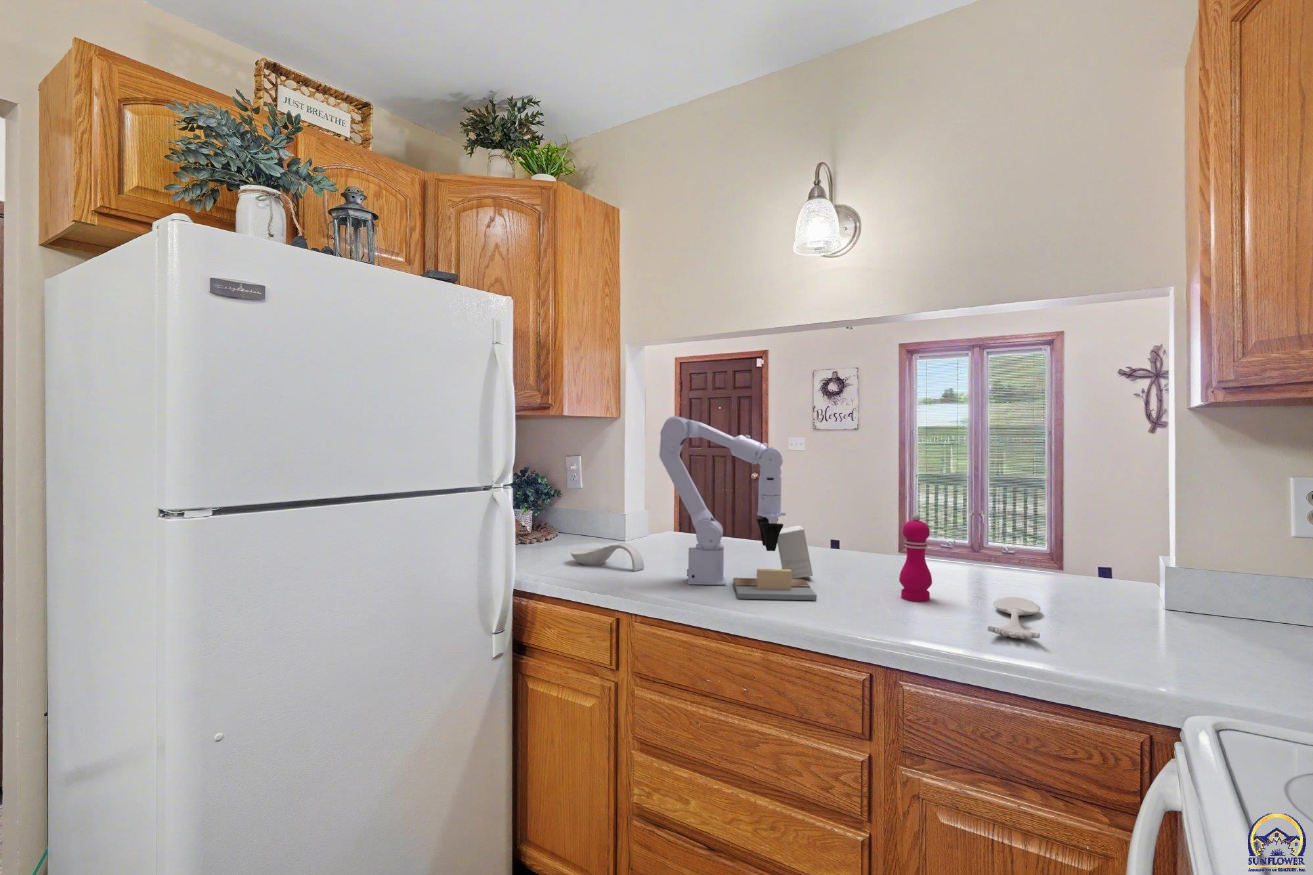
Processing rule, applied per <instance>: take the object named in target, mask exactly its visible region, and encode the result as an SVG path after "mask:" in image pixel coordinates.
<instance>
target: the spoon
mask: <svg viewBox="0 0 1313 875" xmlns="http://www.w3.org/2000/svg"><path fill="white" fill-rule="evenodd" d="M993 606H994V608H996V609H997V610H999V611H1000V612H1003V613H1005V614H1009V615H1011V616H1010V619H1009V622H1008V624H1007V625H1005V626H992V625H987V631H988V632H990V633H994V634H997V635H1000V636H1004V637H1007V638H1011V639H1020V640H1021V639H1022V640H1025V639H1027V640H1028V639H1040V637H1041V634H1040V632H1032V631H1029V630H1026V629H1024V627H1022V626H1021V624H1020V620H1019V616H1021V617H1023V616H1031V615H1035V614H1038V613H1039V612H1040V611H1041V607H1040V606H1039V605H1038V604H1037V603H1035V602H1034V601H1033V600H1029V599H1027V598H1024V597H1020V596H1019V597H1018V596H1004V597H1000V598H998V599H996V600H994V601H993Z"/></svg>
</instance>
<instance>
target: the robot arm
mask: <svg viewBox="0 0 1313 875" xmlns="http://www.w3.org/2000/svg"><path fill="white" fill-rule="evenodd" d="M659 433H660V443H659V445H660V446H659V459H660V461H661V462H662V465H663V467H664V468H665V470H666V472H667V474H668V476H669V477H670V478H669V479H670V480H671V482H672V483H673V486H674V488H675V489H676V492H677V493H678V496H679V498H681V499H680V500H681V501H682V502H683V505H684V506H685V508H686V510H687V512H688V514H689V516H690V518H691V523H692V525H693V527H694V530H695V538H696V541H697V543H696V545H695V547H688V560H687V561H688V562H687V563H688V565H687V566H688V567H687V568H688V569H686V576H687V578H688V579H687V580H688V582H687V585H703V586H704V585H709V586H710V585H711V586H712V585H713V586H714V585H715V586H716V585H717V586H718V585H719V586H725V585H727V583H726V579H725V576H724V568H725V567H724V566H725V564H724V562H725V560H724V558H725V557H724V556H725V552H724V550H725V549H724V548H725V547H724V546H725V545H723V544H722V543H721V540H722V538H723V536H724V528H723V525H722V524H721V523H720V522H719V521H718V520H716V519H715V518H714V515H713V514H712V513H711V512H710V510H709V509H708V507H707V505H706V503H705V502H704V499H703V498H702V496H701V494H700V492H699V490H698V489H697V486H696V484H695V483H694V481H693V479H692V477H691V475H690V473H689V471H688V470H687V468H686V466H685V464H684V462H683V460H682V458H681V456H680V454H681V452H682V449H683V446H684V443H685V442H686V441H687V440H688V438H703V439H706V440H708V441H710V442H713V443H714V444H715V443H716V444H718V445H721V446H723V447H726V448H727V449H729V450H730V453H731V455H732V456H734V457H736V458H738V459H741V460H743V461H745V462H748V463H749V464H752V465H757V464H758V465H759V466H760V468H759V470H760V471H759V476H758V498H757V499H758V500H757V502H758V504H757V506H758V507H757V508H758V509H757V510H758V511H757V512H756V513H757V516H760V517H756V518H755V520H756V522H757V525H758V526H759V527H758V528H759V532H760V537H761V538H760V539H761V544H762V546H763V547H765V550H766V551H767V552H775V551H776V549H777V547H778V545H777V541H778V537H779V534H780V531H781V529H783V527H784V523H779V522H778V521H779V518H780V517H782V516H786V514H787V513H786V511H782V480H783V479H782V477H781V475H782V469H781V467H782V465H783V456H782V454H781V453H780V451H779V450H778V449H776V448H774V447H772V446H768V443H766V442H764V443H761V442H759V441H757V440H755V439H753V438H751V435H748V434H745V435H742V434H740V435H737V436H733V435H730V434H727V433H725V432H723V431H721V430H719V429H717V428H714V427H712V426H710V425H707V424H705V423H703V422H700V421H696V420H692V419H687V418H685V417H682V416H677V415H675V416H670V417H669V418H667V419H666V420H665V422H664V423H663V426H662V428H661V430H660V432H659Z"/></svg>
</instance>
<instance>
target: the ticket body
mask: <svg viewBox="0 0 1313 875" xmlns="http://www.w3.org/2000/svg"><path fill="white" fill-rule="evenodd" d="M732 582H733V583H732V584H733V588H734V592H736V586H748V587H757V577H755V578H754V577H749V578H748V577H746V578H745V577H732ZM791 587H797V588H811V585H810V584H809V583H808V582H807V581H806V579H803V578H796V579H792V581H791Z"/></svg>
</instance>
